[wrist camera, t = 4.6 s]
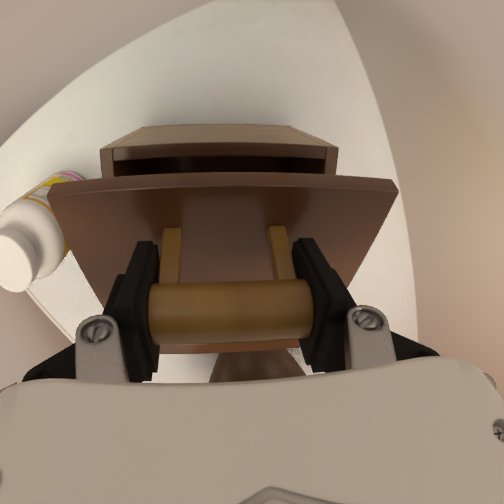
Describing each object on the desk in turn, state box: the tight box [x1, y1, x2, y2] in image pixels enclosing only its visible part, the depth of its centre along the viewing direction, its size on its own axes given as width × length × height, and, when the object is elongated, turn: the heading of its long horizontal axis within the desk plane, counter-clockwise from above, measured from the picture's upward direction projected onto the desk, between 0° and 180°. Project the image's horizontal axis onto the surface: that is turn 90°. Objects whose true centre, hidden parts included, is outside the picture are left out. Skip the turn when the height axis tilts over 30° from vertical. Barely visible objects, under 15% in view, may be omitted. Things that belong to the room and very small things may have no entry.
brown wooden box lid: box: [46, 172, 399, 354], centre depth 15 cm, size 15×14×5 cm
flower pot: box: [209, 349, 306, 383], centre depth 33 cm, size 15×15×16 cm
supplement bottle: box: [0, 172, 84, 292], centre depth 22 cm, size 7×7×13 cm
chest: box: [100, 124, 338, 178], centre depth 24 cm, size 15×14×12 cm
